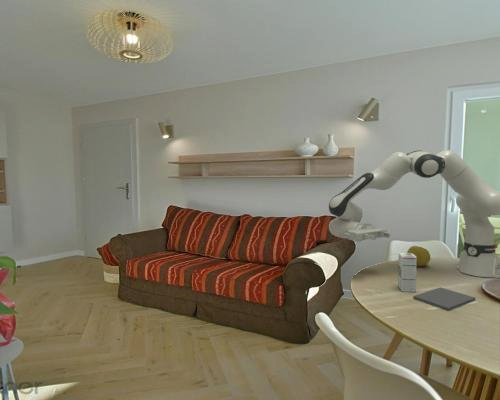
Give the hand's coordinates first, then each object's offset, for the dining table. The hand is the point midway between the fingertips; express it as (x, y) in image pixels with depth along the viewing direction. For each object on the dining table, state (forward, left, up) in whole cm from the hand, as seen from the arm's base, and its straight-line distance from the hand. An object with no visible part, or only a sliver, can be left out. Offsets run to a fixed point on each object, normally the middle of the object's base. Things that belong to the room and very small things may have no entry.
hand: (382, 236), depth 144 cm
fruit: (-36, -6, -20) cm, 42 cm away
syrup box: (0, +12, -20) cm, 23 cm away
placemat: (-2, +26, -20) cm, 33 cm away
